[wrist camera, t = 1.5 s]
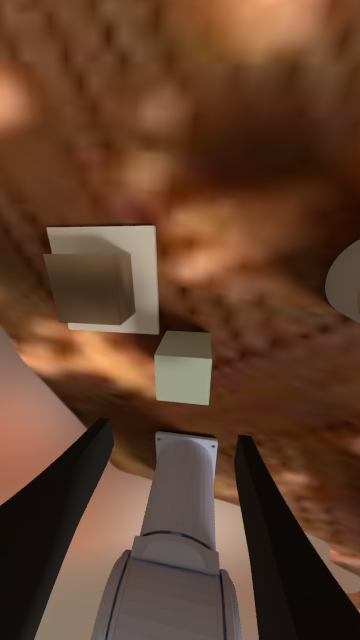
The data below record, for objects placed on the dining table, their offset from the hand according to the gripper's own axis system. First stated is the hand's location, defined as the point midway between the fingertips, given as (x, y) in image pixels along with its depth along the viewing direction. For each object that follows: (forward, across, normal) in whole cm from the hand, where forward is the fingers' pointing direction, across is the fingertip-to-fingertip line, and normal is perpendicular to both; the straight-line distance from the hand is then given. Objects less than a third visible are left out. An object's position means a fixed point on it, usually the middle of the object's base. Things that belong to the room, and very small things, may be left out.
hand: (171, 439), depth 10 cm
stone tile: (+10, +8, -7) cm, 15 cm away
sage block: (+10, 0, 0) cm, 10 cm away
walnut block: (+10, +8, -7) cm, 14 cm away
